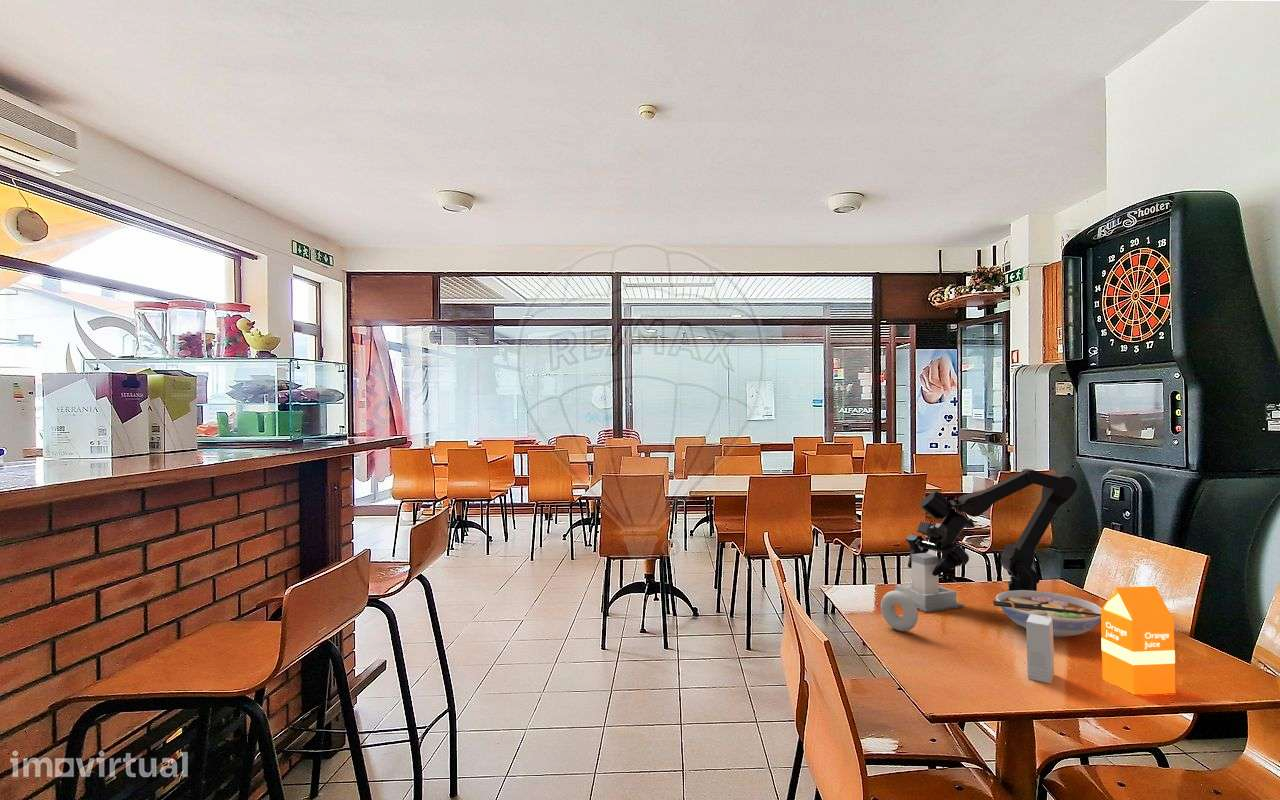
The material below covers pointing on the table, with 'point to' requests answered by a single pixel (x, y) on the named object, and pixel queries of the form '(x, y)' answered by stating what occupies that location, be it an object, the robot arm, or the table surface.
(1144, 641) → the orange juice
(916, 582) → the gray square block
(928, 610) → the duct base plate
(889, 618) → the donut
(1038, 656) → the skincare box
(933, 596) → the metal collar
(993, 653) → the table surface
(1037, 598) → the ramen bowl
